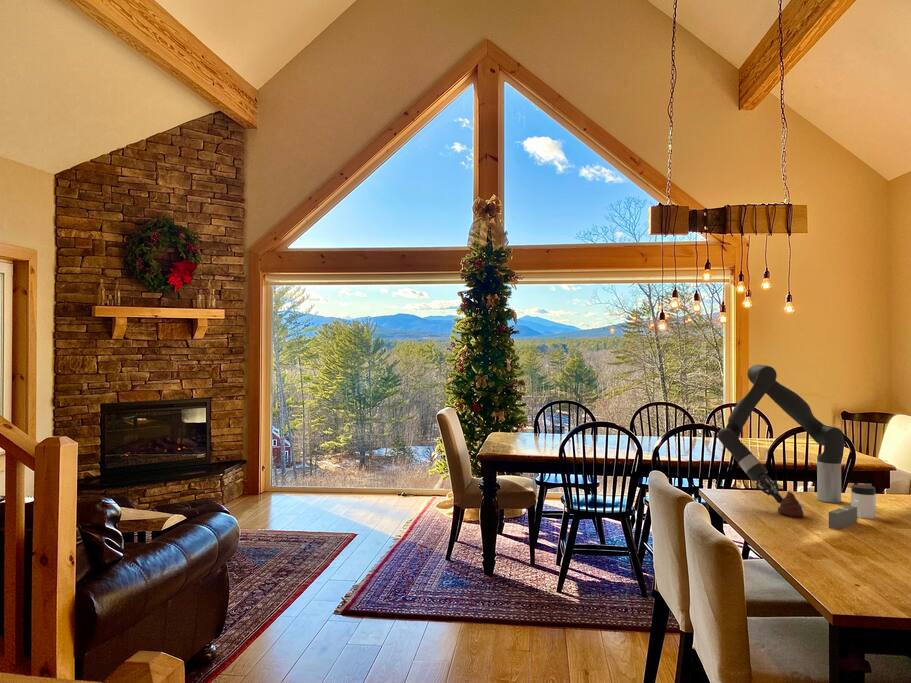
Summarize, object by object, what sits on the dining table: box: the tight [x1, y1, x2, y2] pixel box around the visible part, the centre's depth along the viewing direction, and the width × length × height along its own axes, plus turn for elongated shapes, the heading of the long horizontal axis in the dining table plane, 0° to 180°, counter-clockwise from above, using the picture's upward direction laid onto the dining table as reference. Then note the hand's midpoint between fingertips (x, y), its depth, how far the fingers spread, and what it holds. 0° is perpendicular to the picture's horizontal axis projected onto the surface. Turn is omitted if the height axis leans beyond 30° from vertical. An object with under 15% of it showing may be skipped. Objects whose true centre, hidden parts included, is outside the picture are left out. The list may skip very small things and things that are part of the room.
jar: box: [850, 484, 877, 520], centre depth 253 cm, size 9×8×12 cm
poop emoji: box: [777, 490, 804, 519], centre depth 254 cm, size 10×8×9 cm
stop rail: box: [828, 505, 858, 531], centre depth 239 cm, size 18×3×6 cm, turn 127°
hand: (781, 502), depth 257 cm, fingers closed
